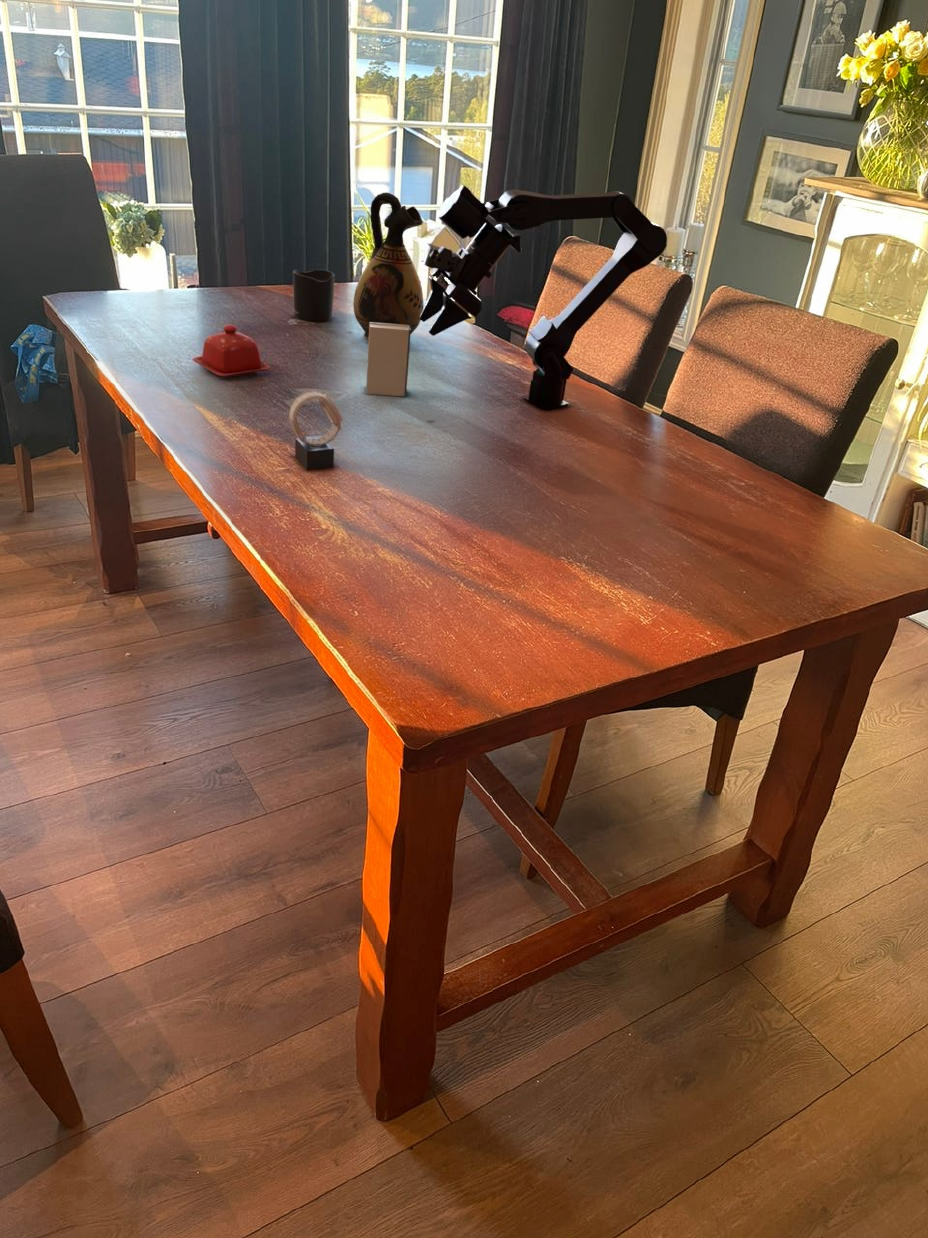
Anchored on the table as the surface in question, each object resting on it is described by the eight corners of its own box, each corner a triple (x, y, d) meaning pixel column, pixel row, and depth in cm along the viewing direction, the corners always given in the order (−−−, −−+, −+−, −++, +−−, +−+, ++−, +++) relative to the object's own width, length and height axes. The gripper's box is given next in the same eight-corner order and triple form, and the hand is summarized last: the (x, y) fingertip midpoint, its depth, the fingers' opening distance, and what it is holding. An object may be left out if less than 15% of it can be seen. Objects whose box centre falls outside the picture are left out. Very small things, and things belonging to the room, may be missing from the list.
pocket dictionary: (405, 390, 181) (409, 325, 174) (406, 396, 178) (410, 330, 171) (366, 387, 180) (369, 321, 173) (366, 393, 177) (369, 326, 170)
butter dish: (219, 382, 174) (217, 336, 169) (189, 364, 181) (187, 319, 176) (273, 374, 181) (273, 330, 176) (242, 357, 188) (241, 314, 183)
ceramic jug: (434, 342, 212) (447, 199, 196) (394, 355, 200) (404, 203, 185) (374, 325, 219) (381, 186, 203) (332, 336, 207) (336, 189, 192)
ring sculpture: (345, 466, 146) (348, 398, 141) (295, 471, 143) (296, 401, 137) (332, 453, 150) (334, 386, 145) (284, 457, 147) (284, 388, 141)
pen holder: (299, 309, 224) (299, 266, 219) (337, 315, 223) (339, 271, 218) (287, 319, 216) (287, 273, 211) (327, 324, 215) (328, 279, 210)
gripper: (436, 215, 169) (383, 286, 174) (458, 235, 154) (399, 313, 158) (481, 255, 175) (429, 323, 179) (507, 279, 159) (449, 352, 164)
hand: (426, 326), depth 170 cm, fingers open, 9 cm apart
